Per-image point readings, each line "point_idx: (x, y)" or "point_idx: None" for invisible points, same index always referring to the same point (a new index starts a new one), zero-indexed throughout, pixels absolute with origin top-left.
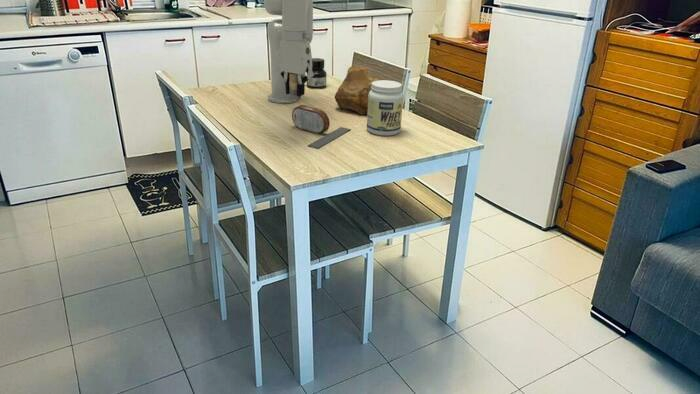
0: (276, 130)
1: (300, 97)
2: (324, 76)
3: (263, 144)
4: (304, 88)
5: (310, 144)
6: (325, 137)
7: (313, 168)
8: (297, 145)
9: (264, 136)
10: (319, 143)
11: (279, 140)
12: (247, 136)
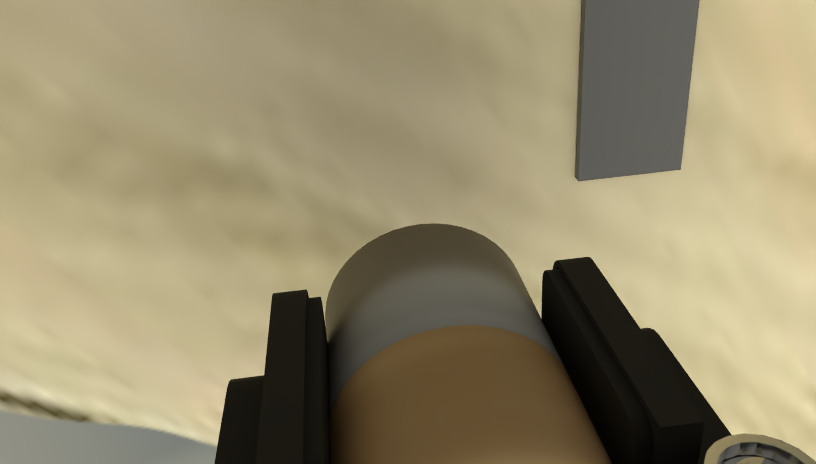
0: (58, 31)
1: (520, 277)
2: None
3: (266, 352)
4: (687, 381)
5: (589, 151)
6: None
7: (786, 420)
8: (492, 209)
9: (123, 229)
10: (645, 83)
11: (297, 218)
12: (21, 316)
